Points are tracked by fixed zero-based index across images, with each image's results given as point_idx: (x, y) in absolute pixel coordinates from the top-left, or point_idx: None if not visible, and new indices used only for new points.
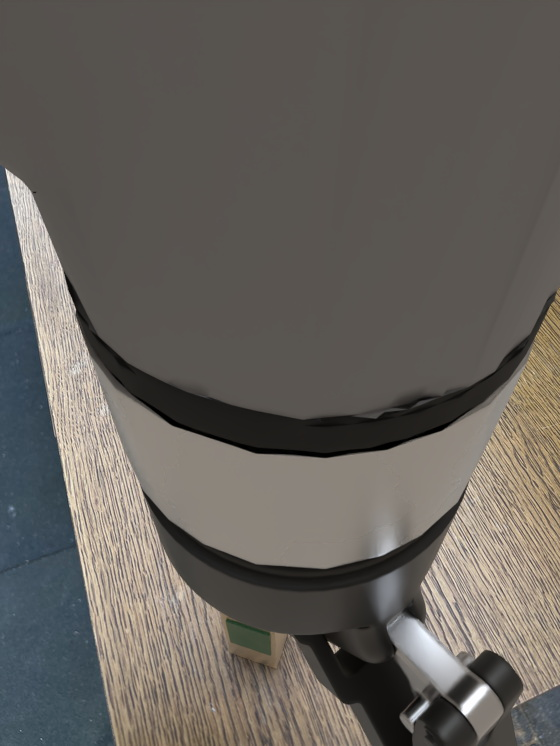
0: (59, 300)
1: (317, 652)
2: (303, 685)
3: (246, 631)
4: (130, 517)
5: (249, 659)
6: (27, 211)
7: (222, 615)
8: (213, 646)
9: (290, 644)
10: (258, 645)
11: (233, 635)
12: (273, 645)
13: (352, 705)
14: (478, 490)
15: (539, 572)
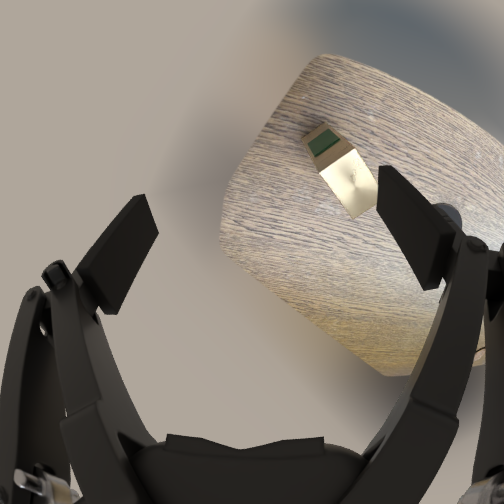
0: None
1: (86, 497)
2: (284, 146)
3: (325, 144)
4: (425, 123)
5: (315, 129)
6: None
7: (343, 139)
8: (334, 116)
9: None
10: (315, 143)
11: (329, 134)
12: (309, 151)
13: (87, 379)
14: (309, 280)
15: (260, 275)
